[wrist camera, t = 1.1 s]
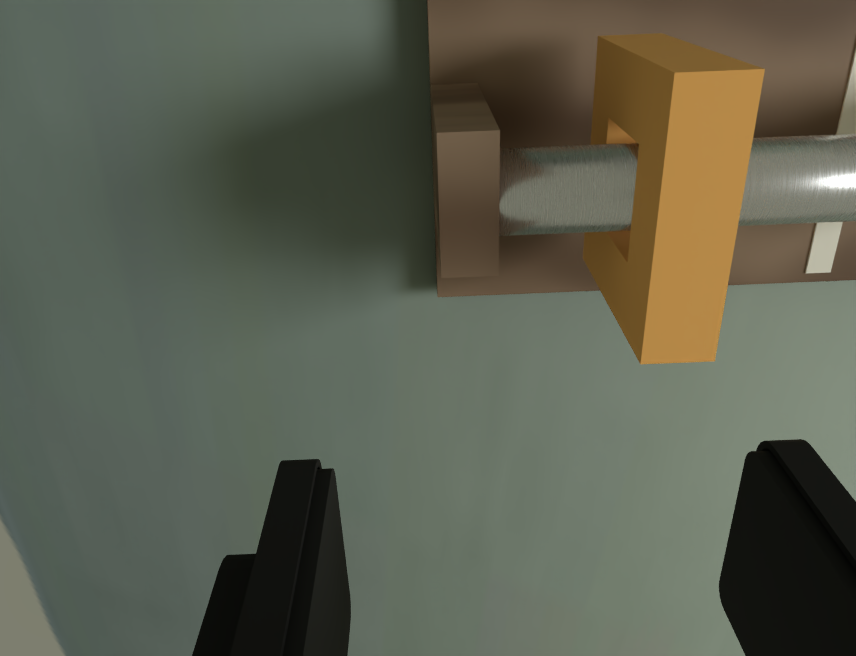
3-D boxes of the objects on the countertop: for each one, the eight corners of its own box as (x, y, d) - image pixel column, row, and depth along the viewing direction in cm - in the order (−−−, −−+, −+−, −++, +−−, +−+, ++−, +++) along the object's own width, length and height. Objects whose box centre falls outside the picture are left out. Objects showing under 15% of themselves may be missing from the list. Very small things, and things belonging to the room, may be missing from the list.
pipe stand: (425, -48, 30) (431, -46, 20) (1032, -74, 30) (1320, -83, 20) (436, 284, 37) (444, 400, 27) (928, 264, 37) (1106, 373, 27)
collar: (597, 35, 27) (674, 73, 19) (661, 33, 27) (764, 68, 19) (582, 258, 31) (640, 364, 23) (637, 256, 31) (714, 361, 23)
